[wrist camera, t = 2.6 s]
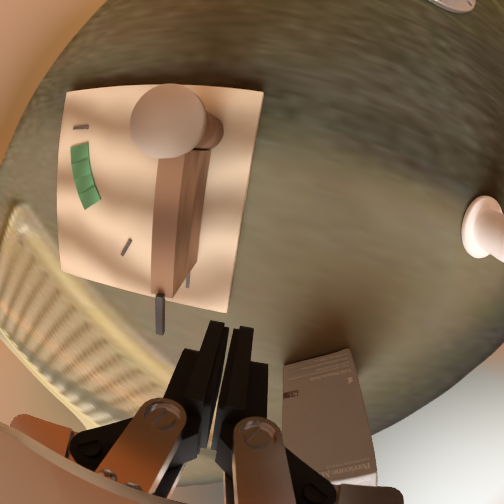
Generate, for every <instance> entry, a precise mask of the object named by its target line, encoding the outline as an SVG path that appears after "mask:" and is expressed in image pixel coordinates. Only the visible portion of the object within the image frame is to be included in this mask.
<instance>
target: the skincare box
mask: <svg viewBox="0 0 504 504" xmlns="http://www.w3.org/2000/svg"><path fill="white" fill-rule="evenodd" d="M282 437H283V442H284V446H285V447H286V448H287V449H289V450H290V451H291V452H292V453H293V454H295V455H296V456H297V457H298V458H300V459H301V460H302V461H303V462H305V463H306V464H307V465H308V466H310V467H311V468H312V469H314V470H315V471H316V472H318V473H319V474H320V475H322V476H323V477H324V478H326V479H327V480H329V481H330V482H331V483H332V484H336V485H340V484H341V483H344V484H353V485H364V486H377V467H376V459H375V452H374V447H373V442H372V437H371V433H370V428H369V423H368V418H367V414H366V409H365V405H364V400H363V396H362V392H361V388H360V384H359V379H358V375H357V371H356V367H355V364H354V360H353V356H352V353H351V351H350V350H349V349H348V348H347V349H344V350H341V351H339V352H335V353H332V354H329V355H325V356H321V357H317V358H313V359H309V360H305V361H301V362H297V363H293V364H289V365H285V366H284V367H283V406H282Z"/></svg>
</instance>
